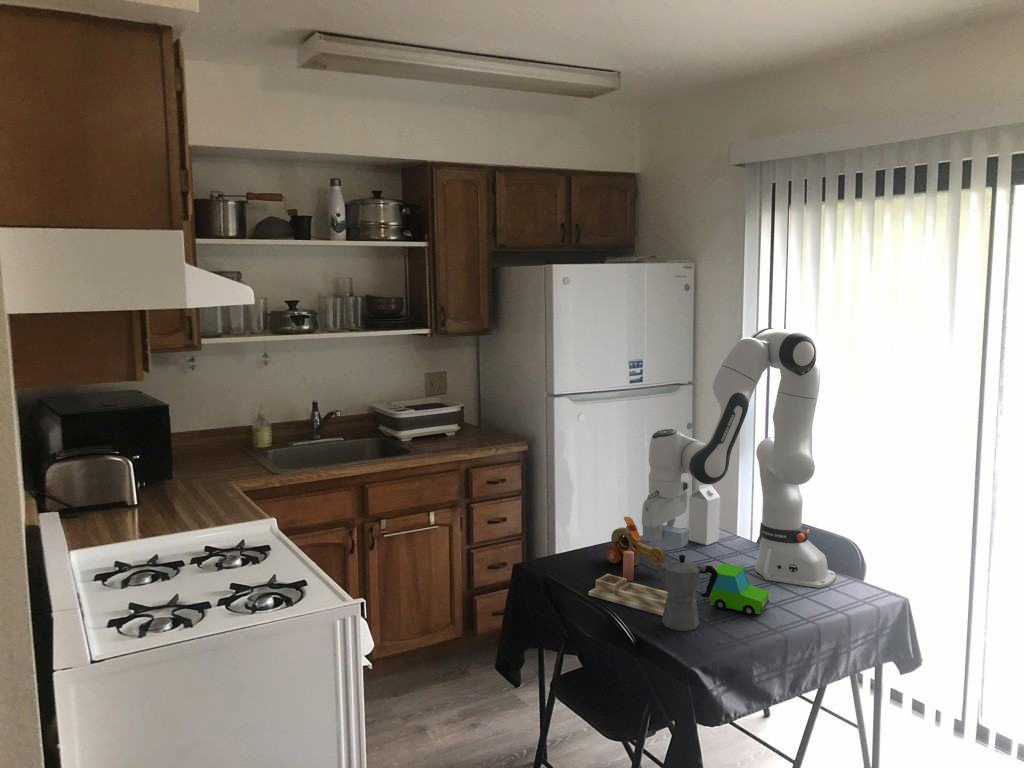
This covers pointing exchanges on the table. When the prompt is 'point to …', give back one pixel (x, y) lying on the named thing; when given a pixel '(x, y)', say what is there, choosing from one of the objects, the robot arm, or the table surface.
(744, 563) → the table surface
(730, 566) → the toy car
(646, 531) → the blue slab with cube
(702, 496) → the milk carton
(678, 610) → the coffeepot
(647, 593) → the jig
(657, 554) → the toy helicopter
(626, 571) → the tail peg
